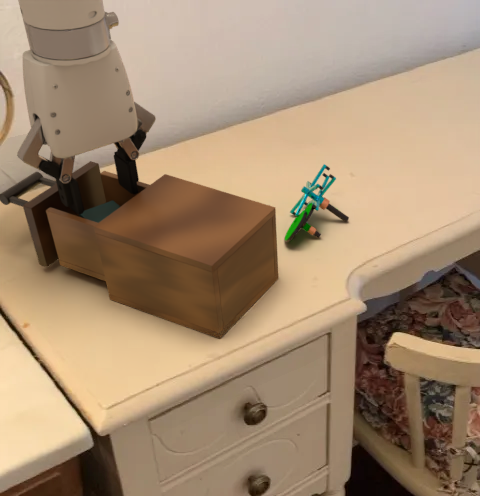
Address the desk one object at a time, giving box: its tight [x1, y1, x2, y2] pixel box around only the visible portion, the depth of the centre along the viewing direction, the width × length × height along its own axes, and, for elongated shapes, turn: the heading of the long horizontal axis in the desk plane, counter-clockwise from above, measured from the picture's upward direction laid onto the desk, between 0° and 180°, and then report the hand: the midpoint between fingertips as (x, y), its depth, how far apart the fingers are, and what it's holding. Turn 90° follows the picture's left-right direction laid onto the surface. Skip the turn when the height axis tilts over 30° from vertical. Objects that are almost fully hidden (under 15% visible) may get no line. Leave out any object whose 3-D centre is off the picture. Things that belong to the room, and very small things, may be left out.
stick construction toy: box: [284, 163, 350, 243], centre depth 106 cm, size 12×7×8 cm
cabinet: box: [94, 173, 280, 340], centre depth 93 cm, size 15×13×10 cm
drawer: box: [0, 161, 150, 282], centre depth 97 cm, size 20×11×8 cm, turn 65°
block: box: [79, 200, 121, 223], centre depth 96 cm, size 4×4×4 cm
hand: (102, 197), depth 93 cm, fingers open, 6 cm apart
